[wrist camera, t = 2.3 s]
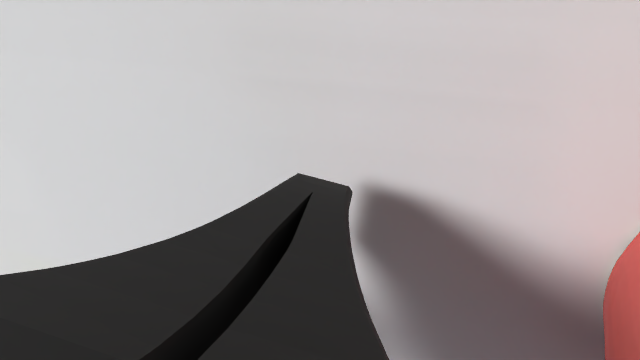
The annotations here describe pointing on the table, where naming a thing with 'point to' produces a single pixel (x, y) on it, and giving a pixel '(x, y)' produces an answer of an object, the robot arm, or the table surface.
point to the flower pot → (623, 306)
